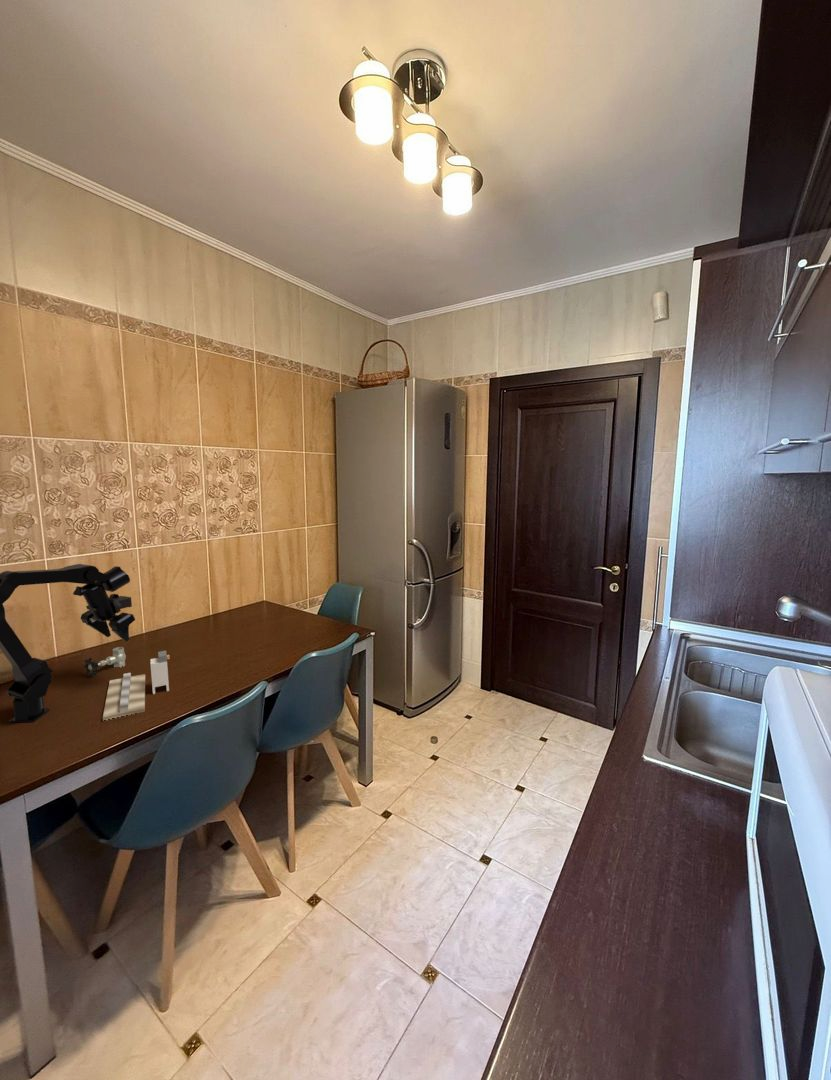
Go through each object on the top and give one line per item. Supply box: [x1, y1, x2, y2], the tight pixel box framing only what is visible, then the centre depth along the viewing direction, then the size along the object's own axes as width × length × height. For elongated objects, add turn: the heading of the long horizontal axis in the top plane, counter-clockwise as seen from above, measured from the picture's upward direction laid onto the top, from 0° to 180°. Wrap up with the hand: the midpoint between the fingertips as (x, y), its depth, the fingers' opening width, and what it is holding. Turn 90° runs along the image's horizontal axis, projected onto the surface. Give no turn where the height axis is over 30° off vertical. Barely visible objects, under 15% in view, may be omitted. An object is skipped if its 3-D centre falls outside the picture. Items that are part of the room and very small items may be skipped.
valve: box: [83, 646, 127, 678], centre depth 155 cm, size 7×7×12 cm
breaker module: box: [150, 650, 170, 695], centre depth 141 cm, size 4×5×12 cm
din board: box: [102, 672, 146, 722], centre depth 137 cm, size 26×10×3 cm, turn 31°
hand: (118, 638), depth 147 cm, fingers open, 9 cm apart
